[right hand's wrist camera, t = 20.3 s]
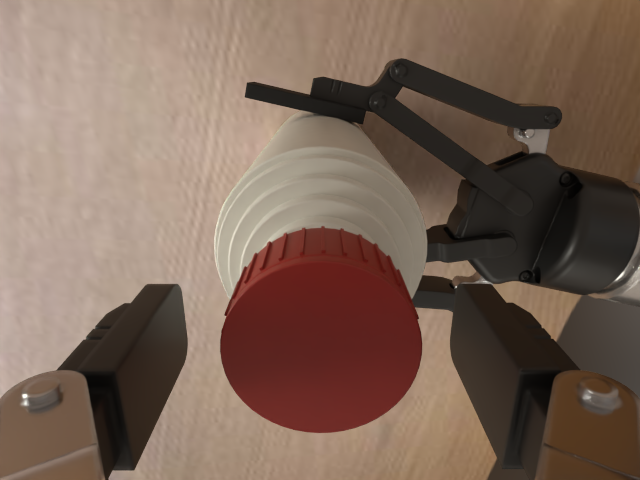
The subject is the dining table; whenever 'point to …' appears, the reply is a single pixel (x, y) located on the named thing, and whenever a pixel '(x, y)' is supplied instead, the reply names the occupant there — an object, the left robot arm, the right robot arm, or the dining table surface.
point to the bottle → (320, 197)
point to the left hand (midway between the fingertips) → (239, 159)
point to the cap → (321, 332)
